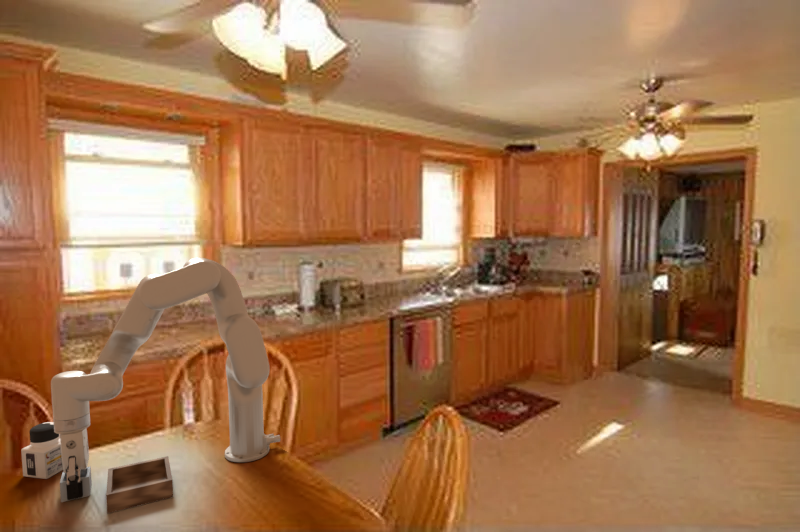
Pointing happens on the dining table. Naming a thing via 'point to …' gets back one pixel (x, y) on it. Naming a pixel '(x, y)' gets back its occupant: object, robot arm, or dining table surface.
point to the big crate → (138, 484)
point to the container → (42, 452)
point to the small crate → (85, 482)
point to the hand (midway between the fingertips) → (76, 490)
